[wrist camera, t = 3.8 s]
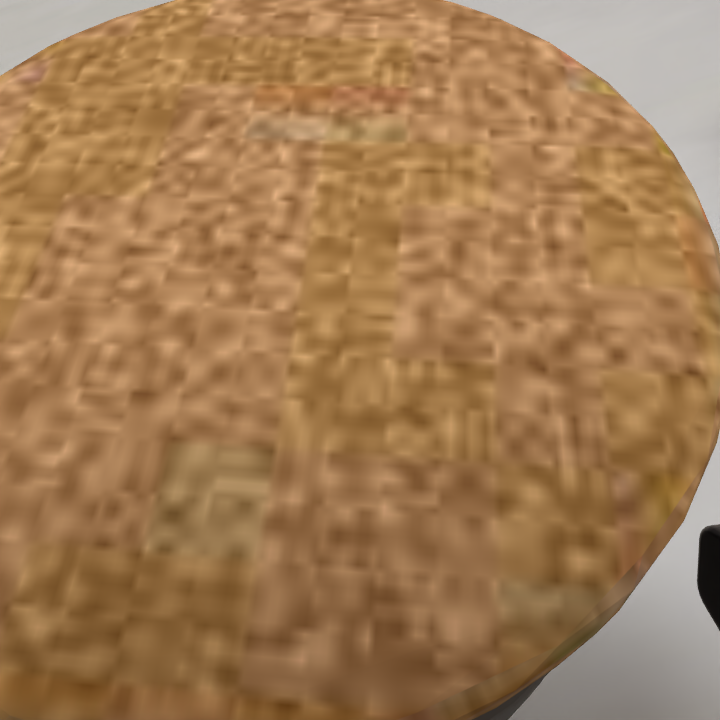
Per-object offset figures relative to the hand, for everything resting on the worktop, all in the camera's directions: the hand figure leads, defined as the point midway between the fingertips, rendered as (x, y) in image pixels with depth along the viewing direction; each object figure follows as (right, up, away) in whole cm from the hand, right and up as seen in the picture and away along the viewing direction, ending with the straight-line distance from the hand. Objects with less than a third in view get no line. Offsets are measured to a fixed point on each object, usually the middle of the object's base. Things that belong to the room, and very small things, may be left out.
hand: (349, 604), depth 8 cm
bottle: (0, -4, +9) cm, 10 cm away
